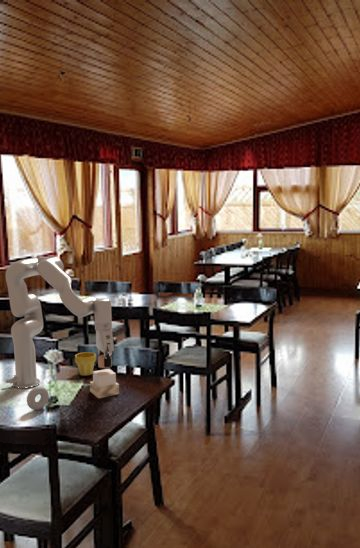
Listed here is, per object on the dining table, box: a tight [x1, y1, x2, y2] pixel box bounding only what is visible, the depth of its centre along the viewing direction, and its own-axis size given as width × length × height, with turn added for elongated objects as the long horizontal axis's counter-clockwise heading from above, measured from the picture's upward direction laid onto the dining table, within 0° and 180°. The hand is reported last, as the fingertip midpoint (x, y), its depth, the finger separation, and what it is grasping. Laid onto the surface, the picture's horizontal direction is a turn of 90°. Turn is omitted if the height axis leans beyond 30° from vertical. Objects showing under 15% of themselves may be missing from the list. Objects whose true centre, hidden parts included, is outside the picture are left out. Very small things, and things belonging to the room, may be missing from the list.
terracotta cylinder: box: [97, 355, 113, 369], centre depth 248 cm, size 6×6×4 cm
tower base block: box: [89, 380, 120, 399], centre depth 250 cm, size 10×10×5 cm
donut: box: [26, 385, 50, 411], centre depth 230 cm, size 10×4×10 cm, turn 135°
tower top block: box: [92, 368, 117, 387], centre depth 249 cm, size 8×8×5 cm
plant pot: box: [74, 351, 97, 377], centre depth 276 cm, size 10×10×10 cm
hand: (104, 364), depth 249 cm, fingers closed on terracotta cylinder, 6 cm apart
